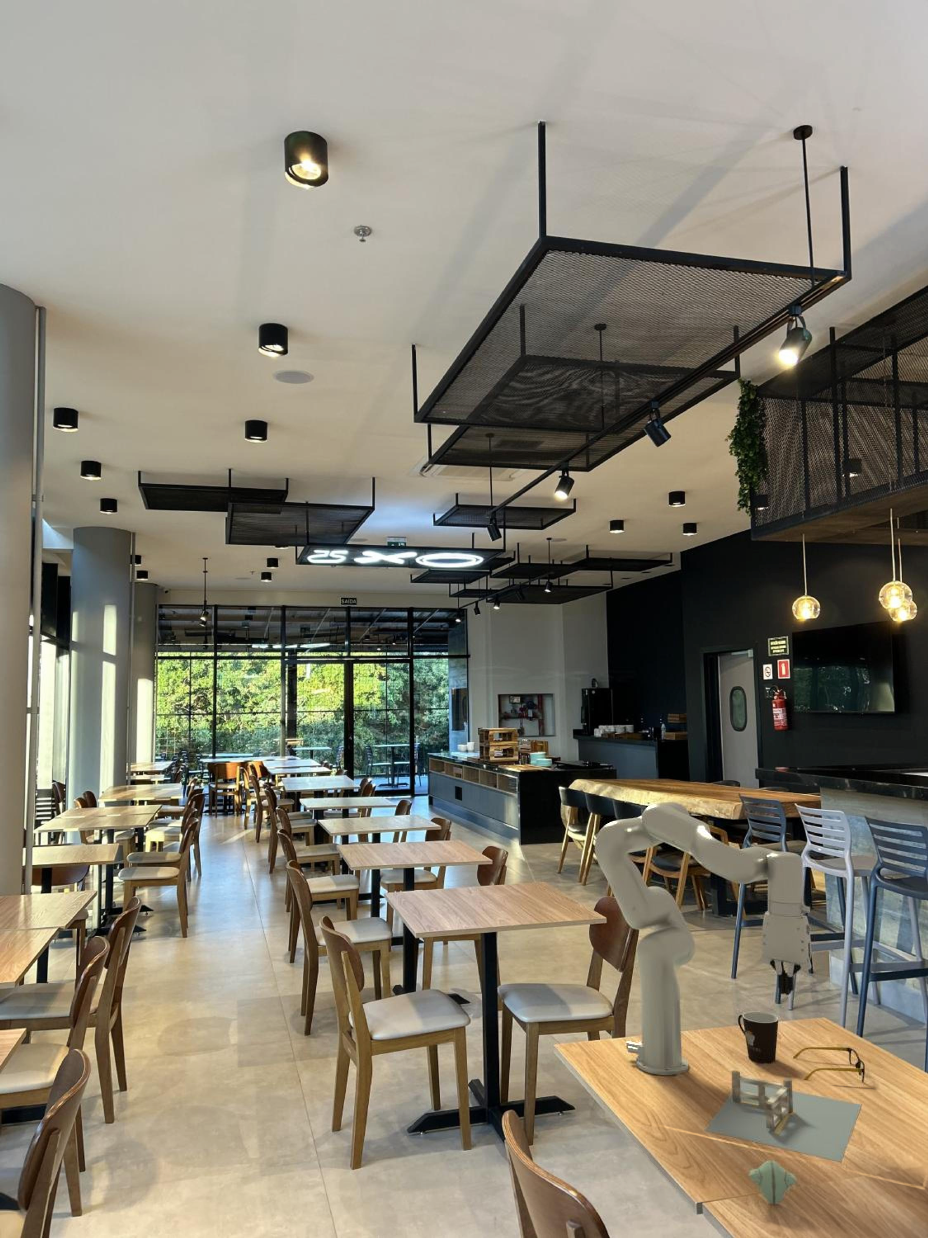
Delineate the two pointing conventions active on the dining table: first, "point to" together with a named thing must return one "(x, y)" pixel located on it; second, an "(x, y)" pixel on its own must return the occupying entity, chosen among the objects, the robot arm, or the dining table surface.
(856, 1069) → the eyeglasses
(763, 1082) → the fence section
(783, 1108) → the fence gate
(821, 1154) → the card
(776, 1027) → the coffee mug
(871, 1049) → the dining table surface
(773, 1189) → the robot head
